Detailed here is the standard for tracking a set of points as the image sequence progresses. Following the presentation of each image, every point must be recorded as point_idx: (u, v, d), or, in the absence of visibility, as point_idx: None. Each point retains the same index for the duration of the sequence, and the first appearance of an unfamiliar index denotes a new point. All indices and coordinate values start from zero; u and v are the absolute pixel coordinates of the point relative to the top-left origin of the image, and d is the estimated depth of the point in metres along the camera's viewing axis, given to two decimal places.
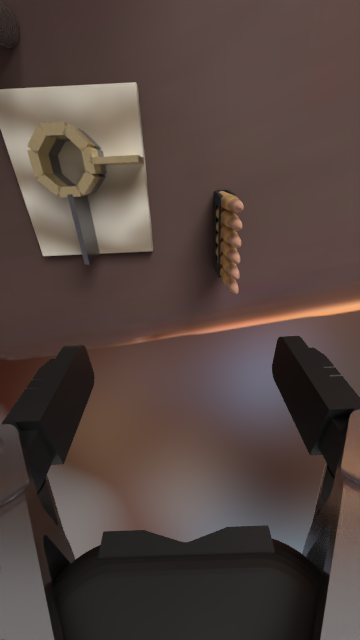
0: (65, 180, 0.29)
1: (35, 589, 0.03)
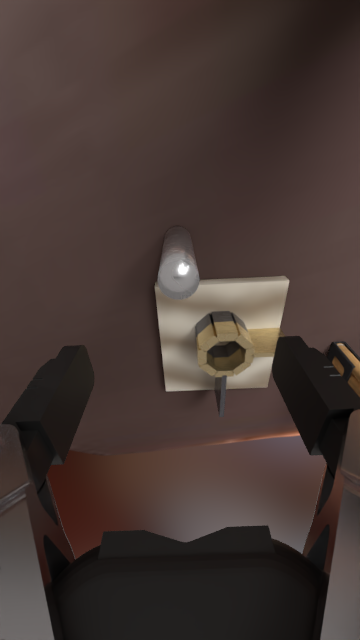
0: (209, 348, 0.32)
1: (35, 589, 0.03)
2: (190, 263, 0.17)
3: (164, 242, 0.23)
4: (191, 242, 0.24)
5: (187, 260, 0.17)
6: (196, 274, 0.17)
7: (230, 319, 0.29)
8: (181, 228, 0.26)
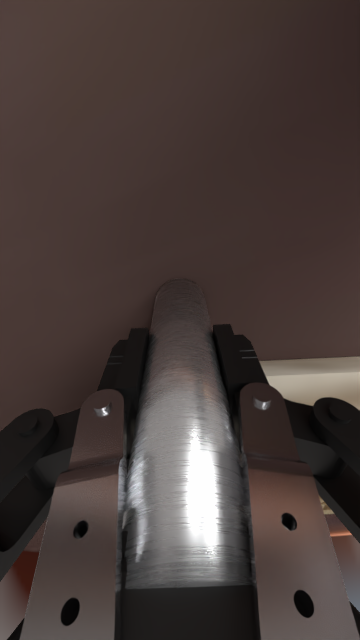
0: None
1: (109, 568, 0.04)
2: (242, 569, 0.04)
3: (152, 330, 0.11)
4: (211, 328, 0.11)
5: (228, 546, 0.04)
6: None
7: None
8: (187, 287, 0.13)
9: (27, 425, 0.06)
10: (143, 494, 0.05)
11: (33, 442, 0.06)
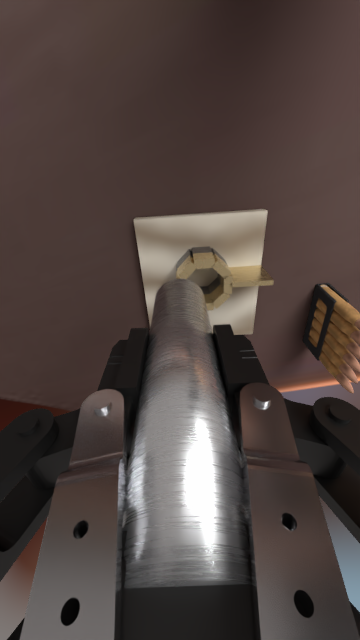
0: None
1: (109, 568, 0.04)
2: (241, 568, 0.04)
3: (151, 330, 0.11)
4: (210, 328, 0.11)
5: (227, 546, 0.04)
6: None
7: (209, 251, 0.29)
8: (187, 287, 0.13)
9: (27, 426, 0.06)
10: (142, 493, 0.05)
11: (33, 442, 0.06)
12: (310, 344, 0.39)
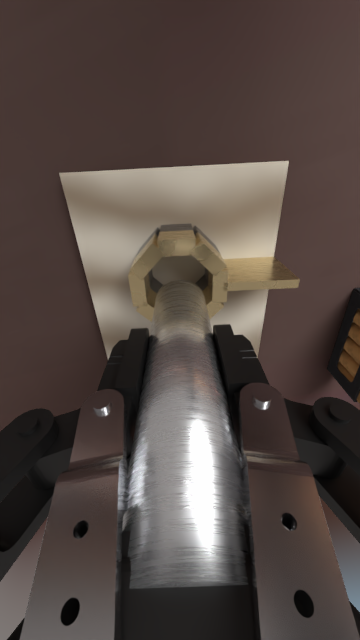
0: None
1: (109, 568, 0.04)
2: (242, 570, 0.04)
3: (152, 331, 0.11)
4: (211, 330, 0.11)
5: (228, 548, 0.04)
6: None
7: (188, 228, 0.17)
8: (188, 288, 0.13)
9: (26, 426, 0.06)
10: (143, 495, 0.05)
11: (33, 442, 0.06)
12: (341, 375, 0.26)
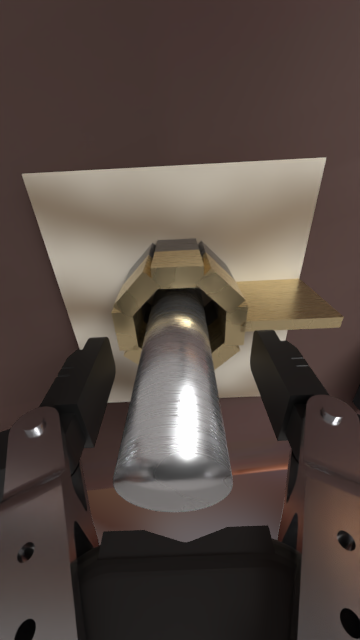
0: None
1: (63, 576, 0.04)
2: (208, 452, 0.06)
3: (151, 309, 0.12)
4: (202, 308, 0.13)
5: (199, 439, 0.06)
6: (224, 476, 0.06)
7: (193, 247, 0.13)
8: None
9: None
10: (140, 412, 0.07)
11: None
12: None
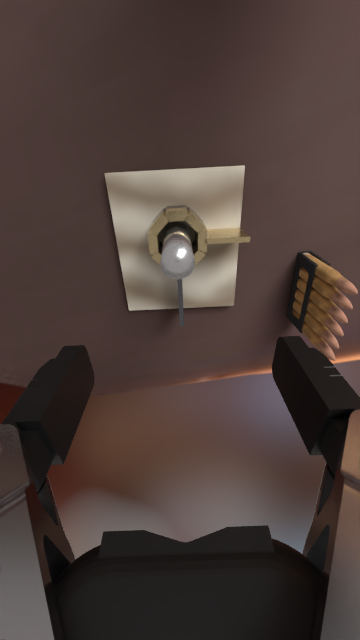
0: None
1: (35, 589, 0.03)
2: (187, 248, 0.20)
3: (165, 234, 0.27)
4: (188, 234, 0.27)
5: (184, 245, 0.21)
6: (192, 257, 0.21)
7: (183, 207, 0.28)
8: (180, 223, 0.29)
9: None
10: (167, 245, 0.21)
11: None
12: (293, 317, 0.37)
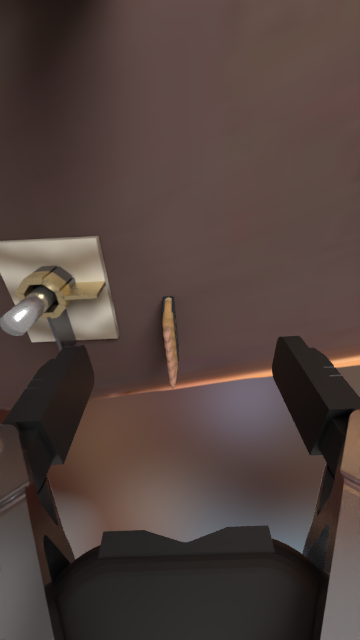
0: None
1: (35, 589, 0.03)
2: (17, 316, 0.28)
3: None
4: (52, 291, 0.35)
5: (16, 314, 0.28)
6: (22, 322, 0.29)
7: (49, 270, 0.36)
8: None
9: None
10: (8, 311, 0.29)
11: None
12: None
